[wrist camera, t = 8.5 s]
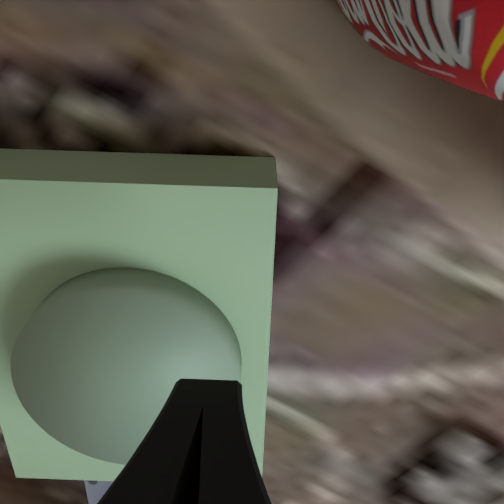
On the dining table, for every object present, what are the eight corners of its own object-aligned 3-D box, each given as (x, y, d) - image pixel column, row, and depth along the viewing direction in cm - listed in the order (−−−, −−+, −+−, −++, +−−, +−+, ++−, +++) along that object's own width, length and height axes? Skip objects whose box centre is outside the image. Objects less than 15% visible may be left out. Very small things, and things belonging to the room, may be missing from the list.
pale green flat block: (261, 425, 24) (261, 519, 20) (-69, 413, 24) (-143, 503, 20) (275, 157, 18) (279, 206, 13) (-172, 142, 18) (-316, 186, 14)
